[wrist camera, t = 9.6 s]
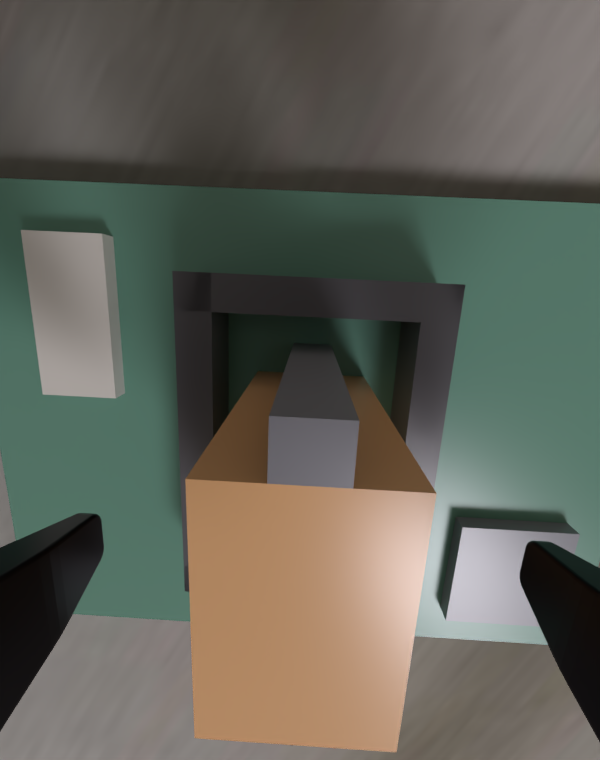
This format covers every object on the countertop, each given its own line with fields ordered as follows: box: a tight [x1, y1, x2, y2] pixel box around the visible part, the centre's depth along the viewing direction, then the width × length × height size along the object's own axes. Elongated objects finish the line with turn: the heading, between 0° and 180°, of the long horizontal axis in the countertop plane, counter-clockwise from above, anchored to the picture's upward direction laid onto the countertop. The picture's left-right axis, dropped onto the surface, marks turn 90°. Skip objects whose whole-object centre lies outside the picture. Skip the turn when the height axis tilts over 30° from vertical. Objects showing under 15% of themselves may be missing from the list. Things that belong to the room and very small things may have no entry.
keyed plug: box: [185, 343, 437, 752], centre depth 9 cm, size 4×6×7 cm, turn 177°
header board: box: [0, 178, 600, 645], centre depth 12 cm, size 22×16×3 cm
